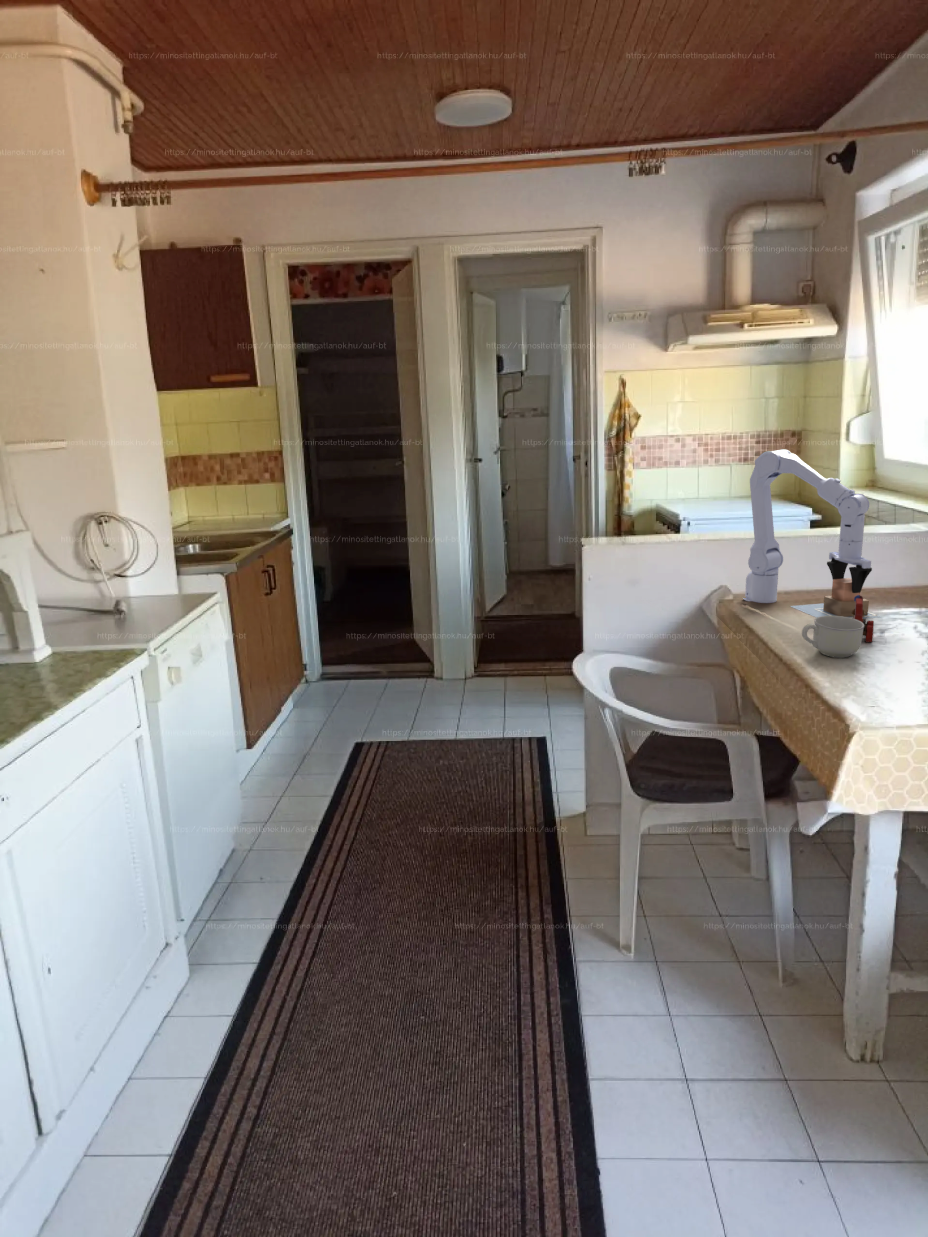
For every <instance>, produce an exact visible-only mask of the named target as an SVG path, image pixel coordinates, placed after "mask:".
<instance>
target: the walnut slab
mask: <svg viewBox="0 0 928 1237" xmlns="http://www.w3.org/2000/svg"><path fill="white" fill-rule="evenodd" d="M823 597H824V598H823V599H824V600H823V603H824V608H823V610H824V611H826V612H829V613H831V614H834V615H836V616H843V617H849V616H852V611H853V610H854V609H855V601H854V600H851V601H841V600H838V599H835V598H832V595H825V596H823ZM869 604H870V600H869V599H866V598H863V610H864V612H865V615H868V612H869Z"/></svg>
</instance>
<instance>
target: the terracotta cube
mask: <svg viewBox="0 0 928 1237" xmlns="http://www.w3.org/2000/svg"><path fill="white" fill-rule="evenodd" d="M857 595H860V596H861V592H860V593H852V578H851V577H846V578H845V577H844V578H843V579H832V587H831V596H832V598H835V599H838V600H841V601H851V600H854V598H855V596H857Z"/></svg>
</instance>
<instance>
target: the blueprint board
mask: <svg viewBox="0 0 928 1237" xmlns="http://www.w3.org/2000/svg"><path fill="white" fill-rule="evenodd" d="M789 607H791V608H793V609H795V610H798V611H800V612H802V613H804V614H807V615H809V616H812V617H813V618H815V619H816V618H817V617H821V616H836V615H834V614H831V613H829V612H826V611H824V610H823V608H824V602H821V603H810V604H799V605H789ZM849 618H853V616H849ZM863 618H864V619H866V620H867V619H875V618H881V615H877V614H875V613H872V612H869V611H868V615H865V616H864V617H863Z"/></svg>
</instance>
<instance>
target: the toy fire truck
mask: <svg viewBox="0 0 928 1237" xmlns="http://www.w3.org/2000/svg"><path fill="white" fill-rule="evenodd" d="M863 599H864V598H863V596H862V595H861V594H860V595H857V596H855V598H854V601H855V609H854V610H853V611H852V616H853V619H856V620H859V621H861V622H862V623H863V624H864V628H863V635H862V637H863V636H864V637H865V638H864V639H865V643H873V639H874V626H875V625H874V620H867V618H866V619H864V618H863V617H864V616H865V612H864V610H863Z"/></svg>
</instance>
